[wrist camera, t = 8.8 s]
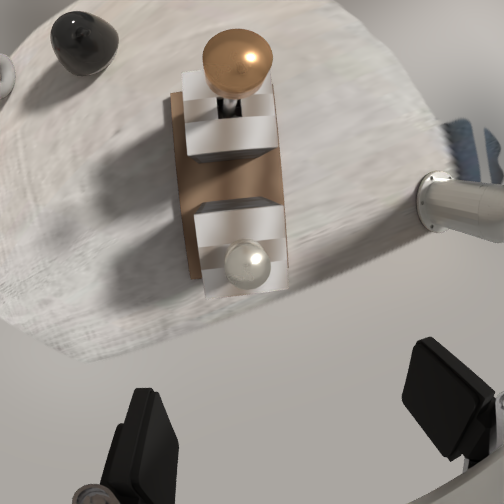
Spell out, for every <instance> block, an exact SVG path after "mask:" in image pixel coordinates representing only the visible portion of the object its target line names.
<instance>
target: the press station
mask: <svg viewBox="0 0 504 504" xmlns="http://www.w3.org/2000/svg"><path fill="white" fill-rule="evenodd" d="M182 89H183V91H182V92H176V93H170V95H171V112H172V126H173V139H174V151H175V162H176V172H177V182H178V191H179V199H180V208H181V216H182V223H183V231H184V238H185V245H186V252H187V259H188V265H189V272H190V278H191V280H192V279H201V278H203V285H204V291H205V298H206V299H214V298H223V297H232V296H240V295H248V294H256V293H264V292H271V291H279V290H286V289H289V282H288V251H287V235H286V221H285V207H284V194H283V182H282V170H281V158H280V148H279V137H278V127H277V117H276V108H275V99H274V90H273V84H272V79H271V71H270V70H269V72H268V74H267V76H266V78H265V80H264V82H263V84H262V86H261V87H260V89H259V90H258V91H257V92H256V93H254V94H253V95H251V96H249V97H247V98H244V99H240V105H241V116H242V117H239V118H227V119H218V111H217V100H218V99H224V98H223V97H220V96H218V95H217V94H215V93H214V92H213V91H212V90H211V89H210V88H209V86H208V85H207V83H206V80H205V74H204V70H196V71H188V72H182ZM244 238H247V239H252V240H255V241H256V242H258V243H259V244H260V245H261V246H262V247H263V249H264V251H265V252H266V254H267V255H268V257H269V259H270V262H271V272H270V275H269V277H268V279H267V280H266V282H265V283H264V284H262V285H261V286H259V287H258V288H255V289H251V290H244V289H240V288H237V287H235V286H234V285H233V284H231V283H230V281H229V280H228V278H227V276H226V273H225V264H224V256H225V252H226V250H227V248H228V247H229V245H230V244H232V243H233V242H234V241H236V240H239V239H244Z"/></svg>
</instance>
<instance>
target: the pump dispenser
mask: <svg viewBox="0 0 504 504" xmlns="http://www.w3.org/2000/svg"><path fill="white" fill-rule="evenodd" d="M50 39H51V44H52V48H53V50H54V53H55V55H56V56H57V58H58V60H59V61H60V63H61V64H62V65H63V66H64V68H65V69H66V70H67V71H69V72H70V73H72V74H74V75H77V76H86V75H92V74H95V73H98V72H100V71H102V70H103V69H104V68H106V67H107V66H108V65H109V64H110V63H111V62H112V60H113V59H114V57H115V55H116V53H117V49H118V43H119V37H118V34H117V32H116V30H115V29H114V28H113V26H111V25H110V24H109V23H108V22H106V21H105V20H103V19H102V18H100V17H98V16H95V15H93V14H90V13H87V12H82V11H73V12H68V13H65V14H63V15H62V16H60V17H59V18H58V19H57V20H56V21H55V23H54V24H53V26H52V29H51V35H50Z"/></svg>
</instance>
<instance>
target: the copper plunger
mask: <svg viewBox="0 0 504 504" xmlns="http://www.w3.org/2000/svg"><path fill="white" fill-rule="evenodd" d="M272 61H273V54H272V50H271V48H270V46H269V44H268V43H267V41H266V40H265V39H264V38H262V37H261V36H260V35H258V34H257V33H254V32H252V31H249V30H245V29H230V30H226V31H223V32H220V33H218V34H217V35H215V36H214V37H212V38H211V39H210V40H209V41H208V43H207V44H206V46H205V48H204V51H203V66H204V74H205V80H206V83H207V85H208V86H209V88H210V89H211V90H212V91H213V92H214V93H215V94H217V95H218V96H220V97H223V98H224V99H218V100H217V111H218V119H227V118H239V117H242V116H241V105H240V99H244V98H247V97H249V96H251V95H253V94H254V93H256V92H257V91H258V90H259V89H260V87H261V86H262V84H263V82H264V80H265V78H266V76H267V74H268V72H269V70H270V68H271V66H272Z"/></svg>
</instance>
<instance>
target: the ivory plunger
mask: <svg viewBox="0 0 504 504" xmlns="http://www.w3.org/2000/svg"><path fill="white" fill-rule="evenodd" d="M224 264H225V273H226V276H227V278H228V280H229V281H230V283H231V284H233V285H234V286H235V287H237V288H240V289H244V290H251V289H255V288H258V287H259V286H261V285H262V284H264V283H265V282H266V280H267V279H268V277H269V275H270V272H271V262H270V259H269V257H268V255H267V254H266V252H265V251H264V249H263V247H262V246H261V245H260V244H259V243H258V242H256V241H255V240H252V239H247V238H244V239H239V240H236V241H234V242H233V243H232V244H230V245H229V247H228V248H227V250H226V252H225V256H224Z"/></svg>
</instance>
